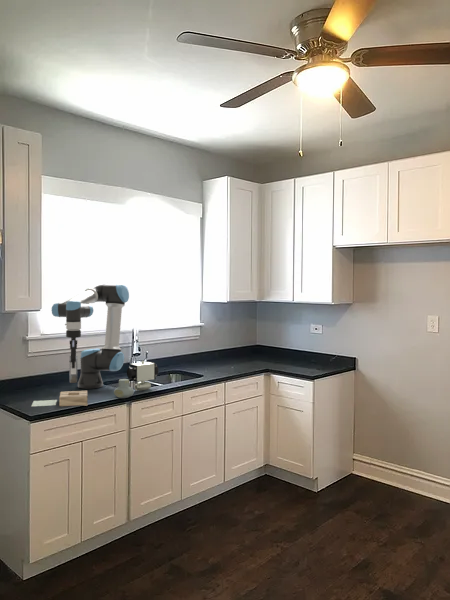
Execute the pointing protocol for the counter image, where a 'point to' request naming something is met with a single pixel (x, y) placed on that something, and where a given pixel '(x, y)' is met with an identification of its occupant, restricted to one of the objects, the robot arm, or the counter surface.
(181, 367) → the counter surface
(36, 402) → the mat
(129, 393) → the air freshener
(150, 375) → the white boxy device
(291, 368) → the counter surface
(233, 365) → the counter surface
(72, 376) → the pin
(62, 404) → the block
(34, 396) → the counter surface
